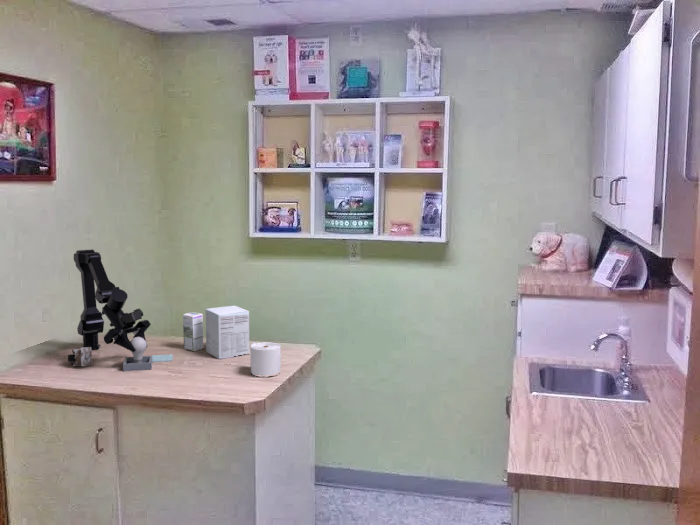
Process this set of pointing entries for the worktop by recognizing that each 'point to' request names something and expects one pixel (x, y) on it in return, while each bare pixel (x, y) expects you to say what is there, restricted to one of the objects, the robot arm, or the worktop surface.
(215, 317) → the supplement box
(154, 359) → the coaster
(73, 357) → the caster wheel
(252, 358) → the toilet tissue
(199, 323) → the syrup box
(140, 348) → the lightbulb
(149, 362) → the grey square frame
